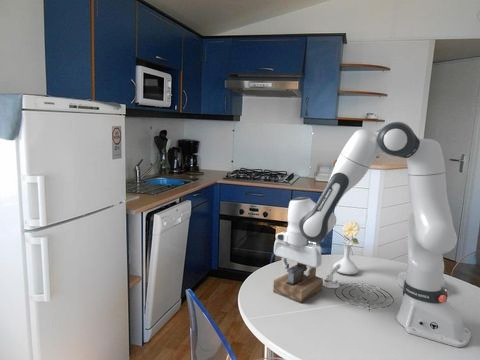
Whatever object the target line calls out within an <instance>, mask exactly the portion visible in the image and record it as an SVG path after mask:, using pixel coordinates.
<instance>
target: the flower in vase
mask: <svg viewBox="0 0 480 360" xmlns="http://www.w3.org/2000/svg"><path fill="white" fill-rule="evenodd" d="M358 233H360V225H359V223H357V222H356V221H355V220H353V221H351V220H350V221H349V222H348V221H347V222H346V223H344V225H343V226H342V235H343V237H344V238H345V239H346V240H348V241H345V240H344V241H342V246H343V248H344V254H343V257H342V258H340V260H338V261H336V262H335V263H333V265H332V269H333V268H334V267H335V266H336V265H337V264H340V265H341V267H340V268H339V269H338V270H337V271H336V273H340V274H343V275H355V274H357V273H358V272H359V268H358V266H357V265H356V264H355V263H354V262H353V261H352V260H351V258H350V253H351V249H352V247H353V245H354V244H355V245H359V244H360V241H359V240H358V238H356V236H357V235H358ZM350 238H351V239H350Z"/></svg>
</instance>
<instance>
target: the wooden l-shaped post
mask: <svg viewBox="0 0 480 360" xmlns="http://www.w3.org/2000/svg"><path fill="white" fill-rule="evenodd" d="M316 243H318V244H319V241H318V242H316ZM296 263H297V264H301V265H304V267H303V269H302V277H301V282H300V283H298V284H296V285H294V286H292V285H289V284H288V273H286V274H284V275H282V276H279V277H278V278H275V279H274V280H273V286H272V287H273V289H272V292H273V293H275V294H276V295H279V296H282V297H285V298H287V299H289V300H292V301H294V302H296V303H299V304H302V303H304V302H305V301H308V300H309V299H311V298H312V297H314V296H315V295H317V294H319V293H320V292H322V291H323V287H324V286H323V279H324V278H323V277H321V276H320V277H319V276H317V275H316V274H317V273H316V272H317V268H314V267H312V268H311V270H310V271H309V275H308V276H306V275H304V271H305V270H307V269H308V268H307V265H305V264H302V263H298V262H296ZM297 264H296V265H297Z"/></svg>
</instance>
